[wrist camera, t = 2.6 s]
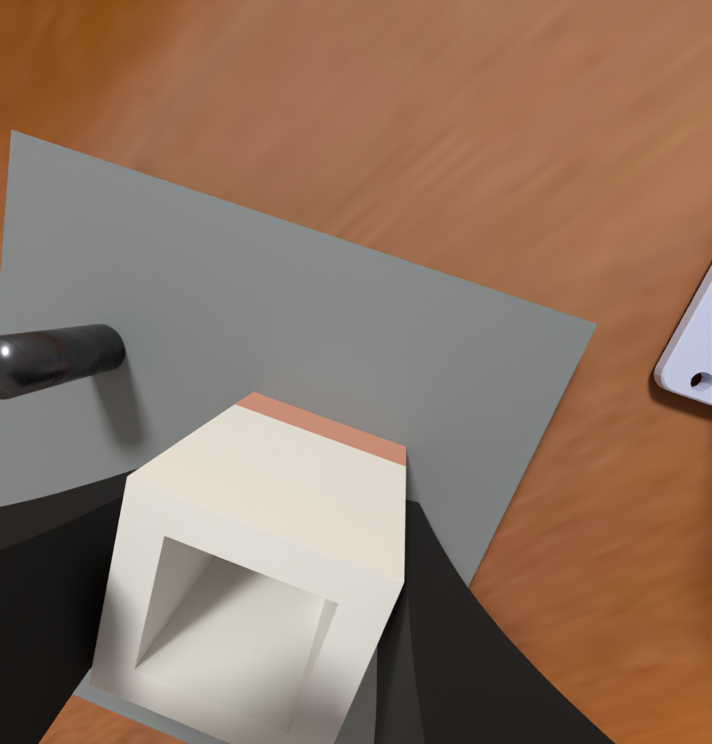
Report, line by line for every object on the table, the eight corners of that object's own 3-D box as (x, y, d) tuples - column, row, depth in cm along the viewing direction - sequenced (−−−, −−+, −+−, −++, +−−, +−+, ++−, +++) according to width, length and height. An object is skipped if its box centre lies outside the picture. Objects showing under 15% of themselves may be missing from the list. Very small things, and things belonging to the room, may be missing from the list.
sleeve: (406, 446, 11) (403, 582, 6) (355, 576, 12) (317, 780, 7) (253, 391, 11) (126, 476, 6) (218, 523, 12) (88, 684, 7)
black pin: (128, 332, 11) (27, 349, 8) (121, 377, 11) (21, 408, 8) (85, 317, 11) (-31, 328, 8) (78, 361, 11) (-35, 387, 8)
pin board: (571, 319, 11) (597, 323, 9) (360, 764, 15) (356, 814, 14) (61, 149, 12) (11, 129, 10) (10, 619, 16) (-28, 651, 15)
